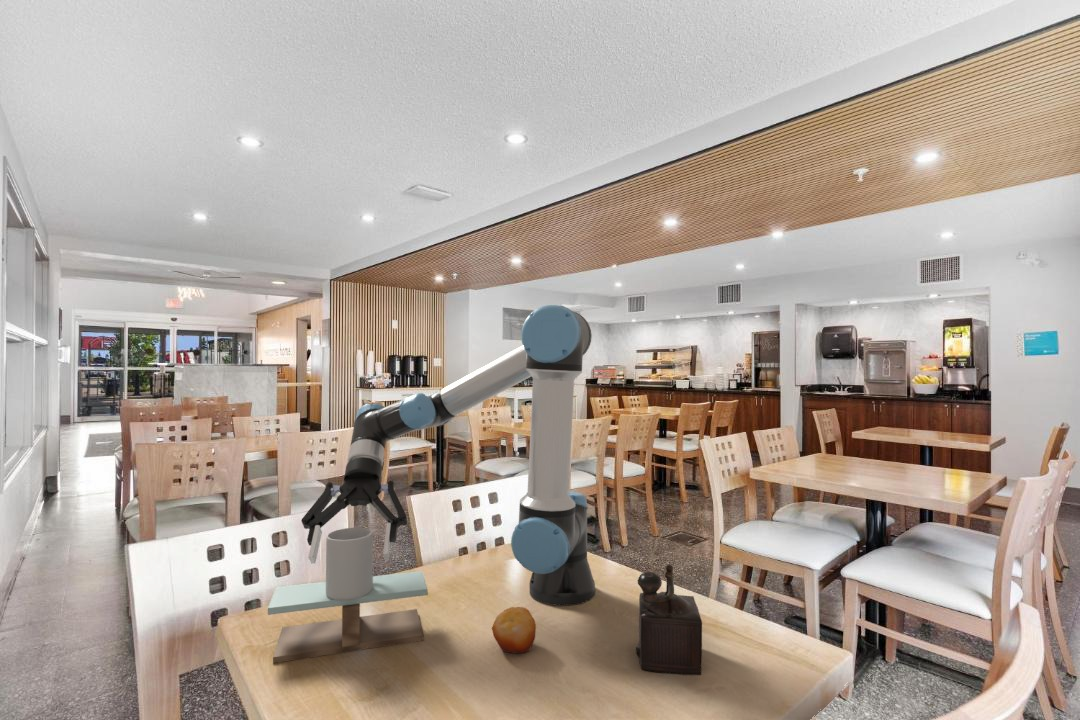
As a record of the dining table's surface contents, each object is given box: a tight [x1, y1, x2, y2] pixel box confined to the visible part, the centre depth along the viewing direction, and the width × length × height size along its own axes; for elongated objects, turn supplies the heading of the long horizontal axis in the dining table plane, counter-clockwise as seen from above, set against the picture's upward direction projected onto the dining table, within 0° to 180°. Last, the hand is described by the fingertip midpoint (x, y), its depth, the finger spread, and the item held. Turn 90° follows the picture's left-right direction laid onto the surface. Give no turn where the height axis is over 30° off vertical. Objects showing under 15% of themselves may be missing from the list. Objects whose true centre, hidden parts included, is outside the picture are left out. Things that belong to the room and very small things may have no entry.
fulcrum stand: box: [272, 603, 424, 664], centre depth 107 cm, size 26×12×8 cm, turn 108°
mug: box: [325, 527, 374, 600], centre depth 107 cm, size 12×8×11 cm
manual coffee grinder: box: [635, 564, 703, 676], centre depth 96 cm, size 16×11×18 cm
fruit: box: [491, 606, 537, 654], centre depth 103 cm, size 8×8×8 cm
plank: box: [267, 570, 429, 616], centre depth 107 cm, size 28×10×1 cm, turn 108°
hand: (349, 558), depth 105 cm, fingers open, 13 cm apart
